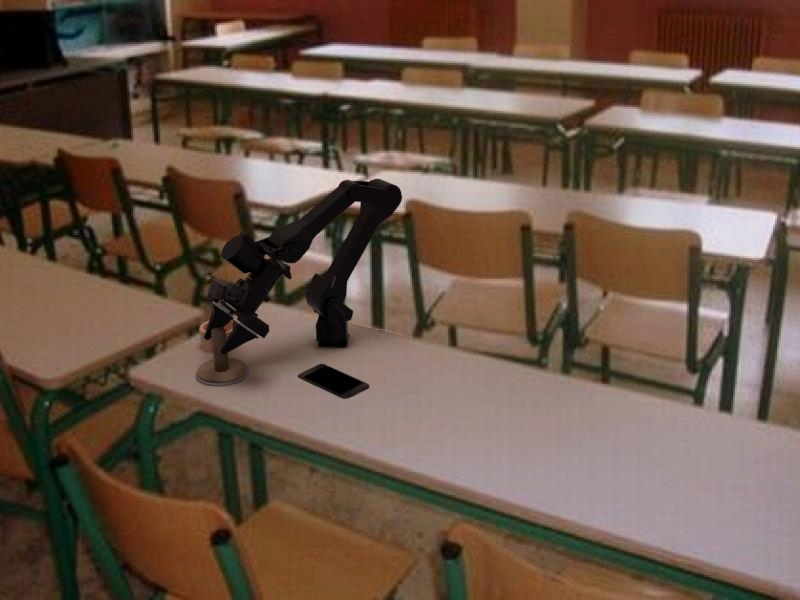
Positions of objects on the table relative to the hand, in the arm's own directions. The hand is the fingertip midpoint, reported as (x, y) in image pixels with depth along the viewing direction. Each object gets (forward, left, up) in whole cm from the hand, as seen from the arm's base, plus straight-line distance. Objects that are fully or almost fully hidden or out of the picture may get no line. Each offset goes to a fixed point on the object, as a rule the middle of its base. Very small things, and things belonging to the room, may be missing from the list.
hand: (213, 346), depth 196 cm
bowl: (+2, -15, -7) cm, 16 cm away
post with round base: (-1, -1, -6) cm, 7 cm away
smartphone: (-25, +2, -7) cm, 26 cm away
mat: (-1, -1, -7) cm, 7 cm away
